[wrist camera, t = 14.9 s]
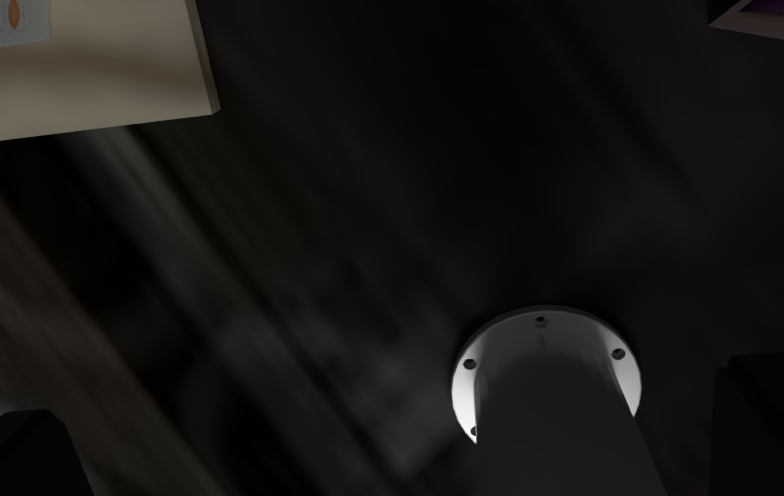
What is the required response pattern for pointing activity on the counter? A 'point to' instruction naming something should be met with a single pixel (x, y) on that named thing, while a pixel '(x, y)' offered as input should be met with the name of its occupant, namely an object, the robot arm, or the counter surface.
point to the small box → (23, 21)
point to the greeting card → (754, 18)
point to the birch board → (107, 68)
